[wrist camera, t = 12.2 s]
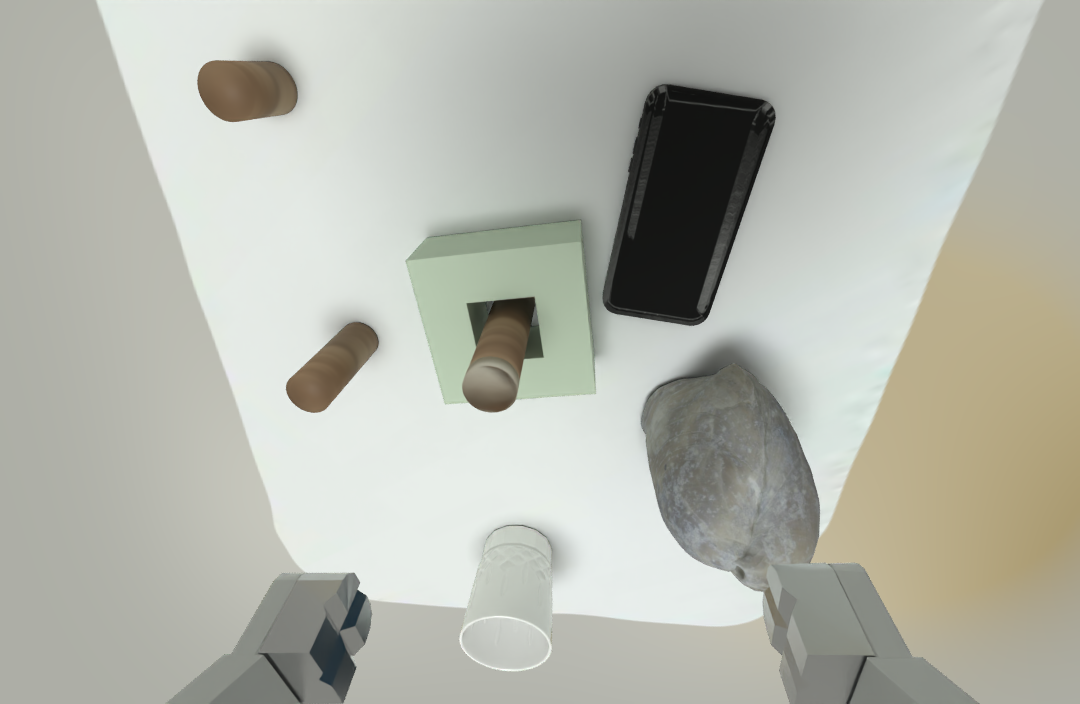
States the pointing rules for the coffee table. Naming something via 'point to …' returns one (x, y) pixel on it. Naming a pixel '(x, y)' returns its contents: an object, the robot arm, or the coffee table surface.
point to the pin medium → (332, 368)
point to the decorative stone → (731, 475)
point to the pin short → (246, 89)
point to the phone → (684, 201)
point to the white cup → (511, 602)
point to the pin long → (499, 356)
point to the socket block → (508, 273)
